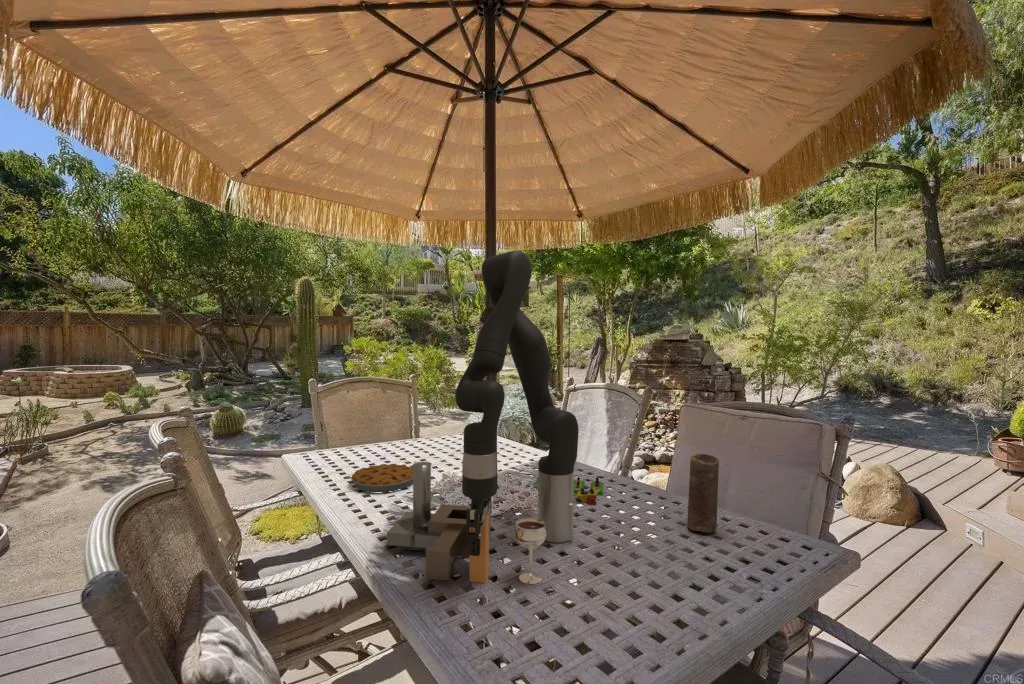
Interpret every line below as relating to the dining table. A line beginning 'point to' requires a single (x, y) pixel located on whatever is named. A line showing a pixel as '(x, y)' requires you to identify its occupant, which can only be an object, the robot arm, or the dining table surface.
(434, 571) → the bracket
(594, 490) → the toy garden set
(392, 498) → the dining table surface
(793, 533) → the dining table surface
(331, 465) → the dining table surface
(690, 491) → the candle
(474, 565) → the orange rectangular block
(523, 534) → the wineglass
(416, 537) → the metal peg stand
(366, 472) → the pie
